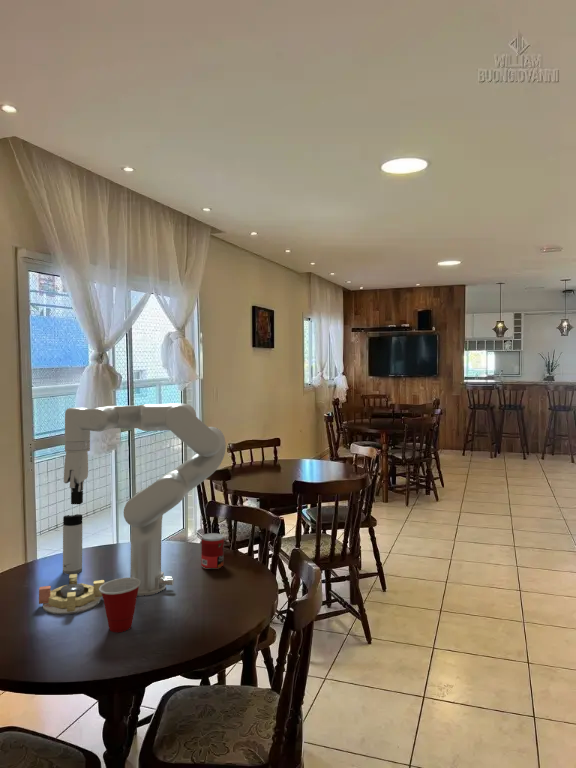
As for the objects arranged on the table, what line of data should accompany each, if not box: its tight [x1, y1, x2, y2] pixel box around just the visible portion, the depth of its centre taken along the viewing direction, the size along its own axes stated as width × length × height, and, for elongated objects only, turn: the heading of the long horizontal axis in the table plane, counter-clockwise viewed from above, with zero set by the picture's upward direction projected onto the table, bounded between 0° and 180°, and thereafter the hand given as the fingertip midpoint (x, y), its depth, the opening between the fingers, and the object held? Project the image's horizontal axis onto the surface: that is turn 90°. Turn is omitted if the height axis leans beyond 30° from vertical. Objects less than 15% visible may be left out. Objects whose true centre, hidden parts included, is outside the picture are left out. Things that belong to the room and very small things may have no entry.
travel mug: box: [62, 513, 83, 575], centre depth 187 cm, size 6×7×20 cm
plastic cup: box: [99, 577, 141, 633], centre depth 146 cm, size 11×11×12 cm
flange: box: [42, 583, 102, 616], centre depth 161 cm, size 16×16×4 cm
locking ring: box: [38, 573, 105, 611], centre depth 161 cm, size 14×14×4 cm
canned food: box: [200, 532, 225, 568], centre depth 194 cm, size 8×8×11 cm
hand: (76, 503), depth 172 cm, fingers closed
